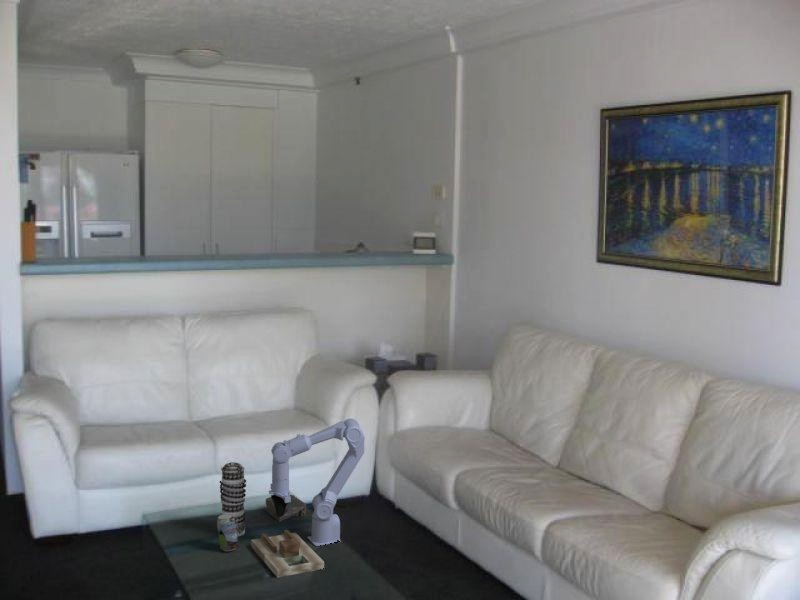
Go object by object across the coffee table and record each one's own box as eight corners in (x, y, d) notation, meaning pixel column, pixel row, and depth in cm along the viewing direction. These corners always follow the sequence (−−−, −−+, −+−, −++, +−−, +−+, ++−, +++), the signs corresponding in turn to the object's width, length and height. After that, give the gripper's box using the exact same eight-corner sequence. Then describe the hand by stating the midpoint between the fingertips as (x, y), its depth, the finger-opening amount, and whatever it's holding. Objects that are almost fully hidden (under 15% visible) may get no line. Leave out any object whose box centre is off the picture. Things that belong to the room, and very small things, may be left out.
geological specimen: (280, 510, 351) (263, 495, 363) (280, 526, 352) (263, 510, 364) (307, 504, 356) (288, 489, 369) (306, 519, 358) (288, 504, 370)
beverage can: (234, 554, 324) (234, 520, 322) (213, 551, 325) (213, 518, 323) (241, 546, 330) (241, 513, 328) (220, 544, 331) (220, 511, 329)
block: (293, 549, 323) (293, 538, 322) (299, 555, 318) (299, 544, 318) (279, 552, 320) (279, 540, 320) (284, 558, 316) (284, 546, 315)
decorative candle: (243, 538, 337) (243, 469, 333) (217, 537, 337) (217, 468, 333) (248, 527, 346) (248, 460, 342) (222, 527, 346) (222, 459, 342)
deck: (295, 539, 337) (295, 527, 337) (324, 568, 315) (324, 556, 314) (251, 546, 330) (251, 534, 329) (277, 577, 307) (277, 564, 307)
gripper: (262, 472, 334) (262, 510, 337) (276, 486, 322) (276, 525, 324) (281, 470, 338) (281, 507, 340) (296, 483, 325) (296, 521, 327)
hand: (280, 515), depth 332 cm, fingers closed
